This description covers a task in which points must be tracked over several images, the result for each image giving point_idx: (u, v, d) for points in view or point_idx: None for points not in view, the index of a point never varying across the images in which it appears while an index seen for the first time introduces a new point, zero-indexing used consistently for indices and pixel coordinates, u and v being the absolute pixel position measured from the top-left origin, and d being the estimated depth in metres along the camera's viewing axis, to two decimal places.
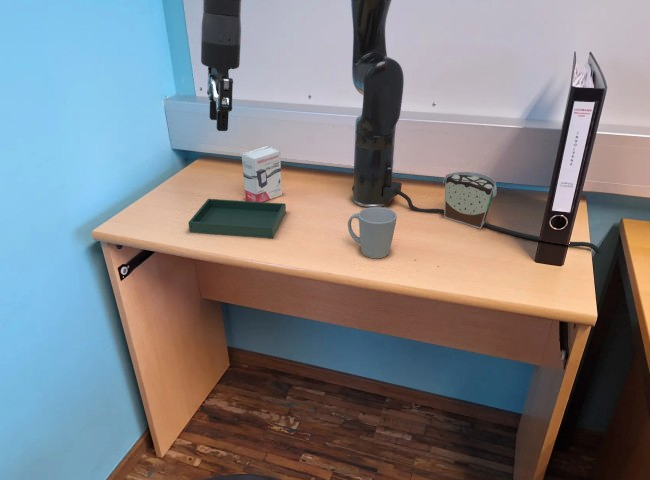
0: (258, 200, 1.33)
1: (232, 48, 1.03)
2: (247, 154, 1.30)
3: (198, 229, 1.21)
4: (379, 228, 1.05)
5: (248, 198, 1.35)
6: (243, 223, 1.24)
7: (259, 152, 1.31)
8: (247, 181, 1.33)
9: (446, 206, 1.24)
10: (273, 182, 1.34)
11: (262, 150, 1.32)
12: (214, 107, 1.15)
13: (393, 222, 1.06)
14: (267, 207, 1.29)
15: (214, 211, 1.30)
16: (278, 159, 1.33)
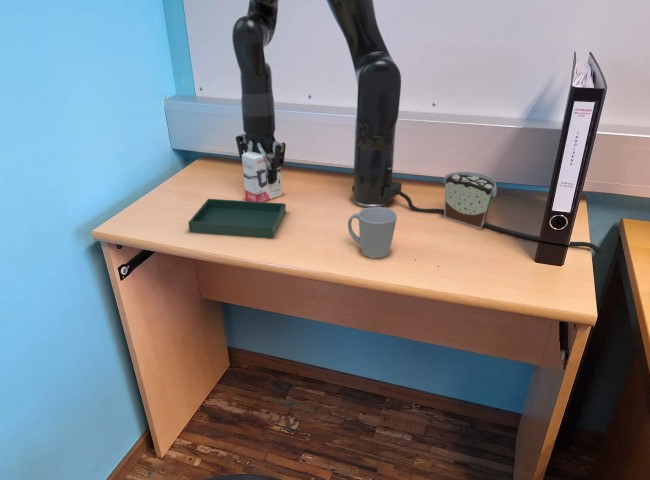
0: (258, 200, 1.33)
1: (274, 115, 1.25)
2: (247, 154, 1.30)
3: (198, 229, 1.21)
4: (379, 228, 1.05)
5: (248, 198, 1.35)
6: (243, 223, 1.24)
7: None
8: (247, 181, 1.33)
9: (446, 206, 1.24)
10: None
11: None
12: None
13: (393, 222, 1.06)
14: (267, 207, 1.29)
15: (214, 211, 1.30)
16: None
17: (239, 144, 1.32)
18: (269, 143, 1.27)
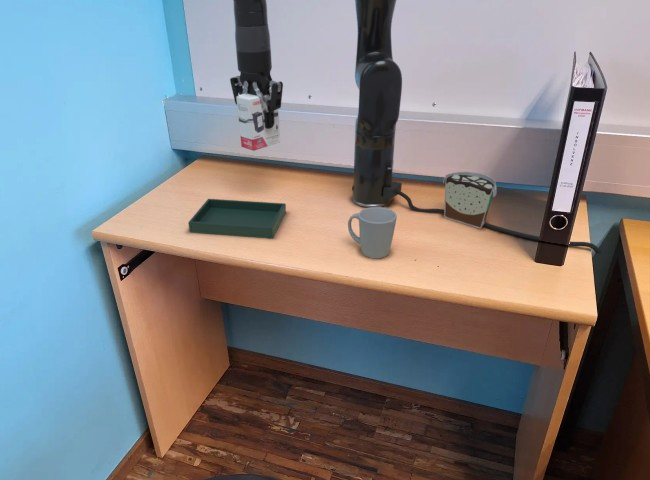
0: (254, 146, 1.26)
1: (270, 52, 1.18)
2: (242, 96, 1.22)
3: (198, 229, 1.21)
4: (379, 228, 1.05)
5: (244, 145, 1.28)
6: (243, 223, 1.24)
7: None
8: (242, 126, 1.25)
9: (446, 206, 1.24)
10: None
11: None
12: None
13: (393, 222, 1.06)
14: (267, 207, 1.29)
15: (214, 211, 1.30)
16: None
17: (234, 86, 1.25)
18: (265, 82, 1.19)
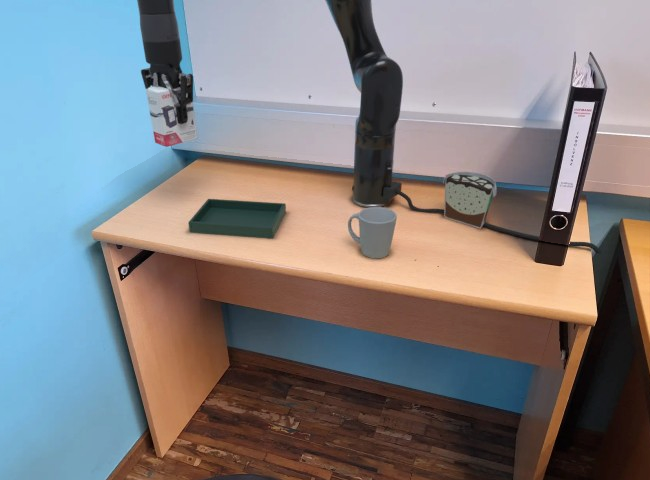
0: (167, 142, 1.19)
1: (178, 42, 1.11)
2: (152, 88, 1.15)
3: (198, 229, 1.21)
4: (379, 228, 1.05)
5: (157, 141, 1.21)
6: (243, 223, 1.24)
7: None
8: (154, 121, 1.18)
9: (446, 206, 1.24)
10: None
11: None
12: None
13: (393, 222, 1.06)
14: (267, 207, 1.29)
15: (214, 211, 1.30)
16: None
17: (145, 79, 1.18)
18: (174, 74, 1.12)
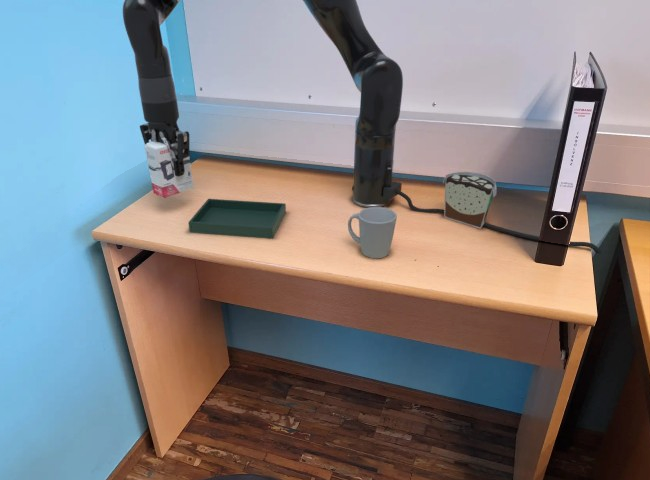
0: (165, 193, 1.25)
1: (175, 102, 1.17)
2: (150, 144, 1.21)
3: (198, 229, 1.21)
4: (379, 228, 1.05)
5: (155, 191, 1.27)
6: (243, 223, 1.24)
7: None
8: (152, 174, 1.24)
9: (446, 206, 1.24)
10: None
11: None
12: None
13: (393, 222, 1.06)
14: (267, 207, 1.29)
15: (214, 211, 1.30)
16: None
17: (144, 134, 1.24)
18: (171, 132, 1.18)
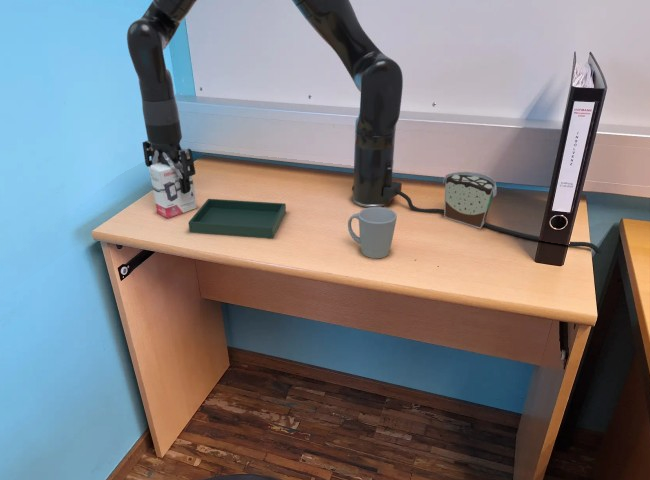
0: (168, 214, 1.28)
1: (178, 124, 1.19)
2: (154, 166, 1.24)
3: (198, 229, 1.21)
4: (379, 228, 1.05)
5: (159, 212, 1.29)
6: (243, 223, 1.24)
7: None
8: (156, 195, 1.27)
9: (446, 206, 1.24)
10: (185, 195, 1.29)
11: None
12: None
13: (393, 222, 1.06)
14: (267, 207, 1.29)
15: (214, 211, 1.30)
16: None
17: (145, 150, 1.26)
18: (174, 153, 1.21)
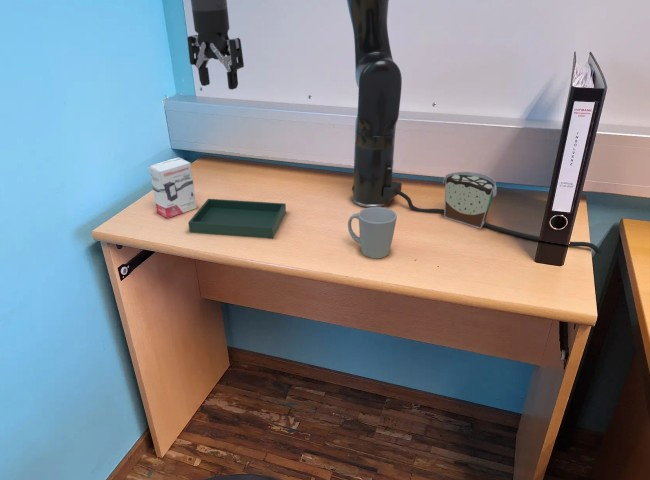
0: (168, 214, 1.28)
1: (226, 11, 1.15)
2: (154, 166, 1.24)
3: (198, 229, 1.21)
4: (379, 228, 1.05)
5: (159, 212, 1.29)
6: (243, 223, 1.24)
7: (167, 164, 1.25)
8: (156, 195, 1.27)
9: (446, 206, 1.24)
10: (185, 195, 1.29)
11: (171, 162, 1.26)
12: (204, 73, 1.25)
13: (393, 222, 1.06)
14: (267, 207, 1.29)
15: (214, 211, 1.30)
16: (189, 171, 1.27)
17: (190, 46, 1.22)
18: (223, 43, 1.17)
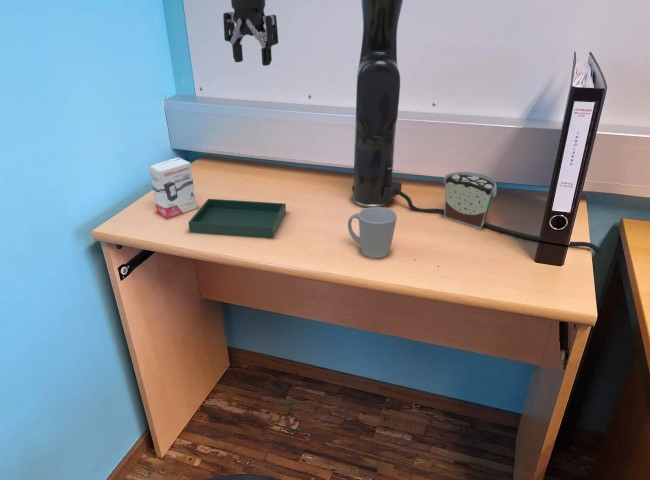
0: (168, 214, 1.28)
1: None
2: (154, 166, 1.24)
3: (198, 229, 1.21)
4: (379, 228, 1.05)
5: (159, 212, 1.29)
6: (243, 223, 1.24)
7: (167, 164, 1.25)
8: (156, 195, 1.27)
9: (446, 206, 1.24)
10: (185, 195, 1.29)
11: (171, 162, 1.26)
12: (238, 50, 1.28)
13: (393, 222, 1.06)
14: (267, 207, 1.29)
15: (214, 211, 1.30)
16: (189, 171, 1.27)
17: (226, 22, 1.25)
18: (259, 19, 1.20)
